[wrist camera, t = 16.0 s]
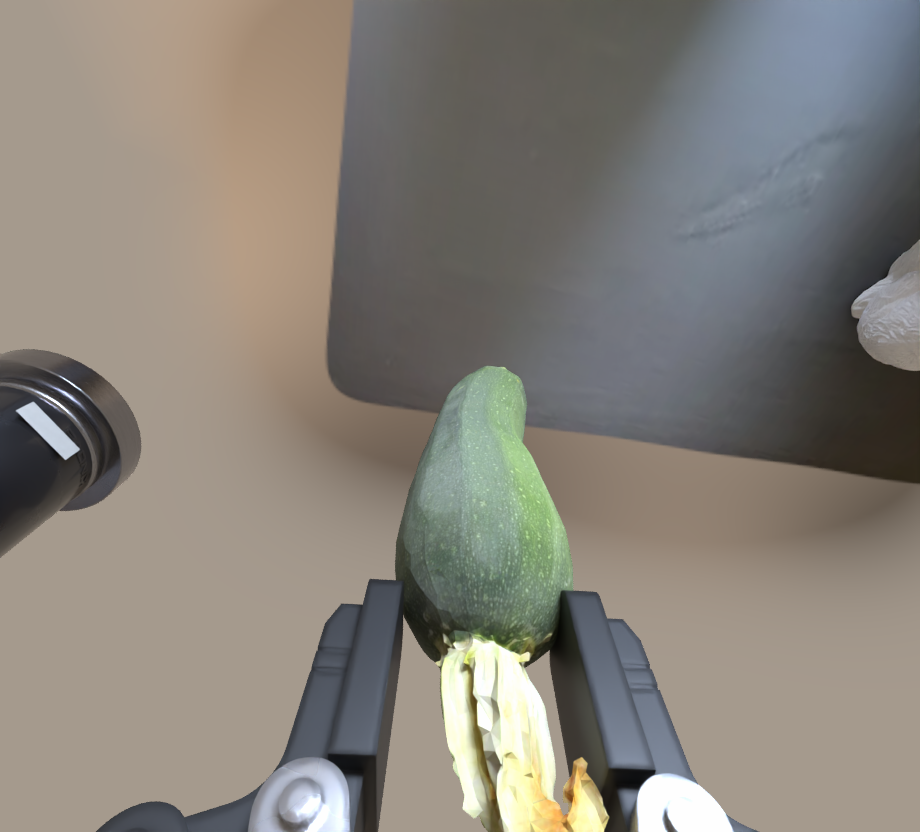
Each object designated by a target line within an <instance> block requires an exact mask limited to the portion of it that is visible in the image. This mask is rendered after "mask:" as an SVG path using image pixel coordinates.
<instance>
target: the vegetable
mask: <svg viewBox="0 0 920 832" xmlns="http://www.w3.org/2000/svg"><path fill="white" fill-rule="evenodd" d="M526 409H527V400H526V396H525V392H524V388H523V385H522V382H521V379H520V378H519V377H518V376H516V375H514V374H513V373H511V372H510V371H508V370H507V369H506V368H505V367H494V366H485V367H482V368H480V369H479V370H477V371H475V372H473V373H471V374H470V375H468V376H466V377H465V378H464V379H462V380H461V381H460V382H459V383H458V384H457V385H455V387H454V388H453V389H452V390H451V391H450V393H449V395H448V396H447V398H446V400H445V402H444V405H443V407H442V409H441V411H440V413H439V415H438V417H437V419H436V422H435V425H434V428H433V431H432V433H431V435H430V437H429V440H428V443H427V445H426V447H425V449H424V451H423V453H422V456H421V459H420V461H419V464H418V468H417V471H416V474H415V477H414V479H413V482H412V484H411V487H410V489H409V493H408V497H407V501H406V505H405V509H404V513H403V517H402V521H401V524H400V528H399V533H398V537H397V542H396V560H395V572H396V580H397V581H404V603H403V615H404V618H405V619H406V621H407V623H408V625H409V627H410V629H411V630H412V632H413V634H414V636H415V638H416V640H417V641H418V643H419V645H420V646H421V648H422V649H423V651H424V652H425V653H426V654H427V655H428V657H429V658H430V659H431V660H433V661H434V662H435V663H436V664H437V665H438V667H439V668H440V671H441V679H440V692H441V706H442V714H443V719H444V724H445V730H446V736H447V741H448V746H449V750H450V752H451V755H452V758H453V761H454V763H453V769H454V771H455V773H456V774H457V776H458V778H459V780H460V782H461V785H462V789H463V792H464V795H465V798H464V804H463V810H464V811H466V812H467V813H468V814H469V815H470V816H472V817H473V818H474V819H475V818H476V817H478V816H479V817H480V819H481V822H482V824H483V826H484V828H486V830H487V831H488V832H604V829H605V827H606V824H607V822H608V819H609V816H608V814H607V812H606V810H605V808H604V806H603V799H602V797H601V794H600V792H599V790H598V788H597V786H596V785H595V783H594V782H593V781H592V779H591V778H590V777H589V776H588V774H587V773H586V769H587V764H588V763H587V762H586V761H585V760H584V759H583V758H582V757H581V758H579V759H577V760H575V761H574V763H573V769H572V775H571V777H570V778H569V780H568V781H567V783H566V784H565V786H564V787H563V802H564V803H568V805H569V813H568V814H566V815H564V816H563V814H562V812H561V809H560V806H559V803H556V801H555V800H554V798H553V791H554V787H555V782H556V772H555V759H554V754H553V748H552V743H551V738H550V733H549V729H548V725H547V717H546V710H545V707H544V704H543V702H542V700H541V698H540V696H539V694H538V692H537V691H536V689H535V687H534V685H533V684H532V683H531V682H530V680H529V678H528V675H527V673H526V671H525V667H527V666H528V665H530V664H531V663H533V662H535V661H536V660H538V659H539V658H540V657H541V656H542V655H544V654H545V653H546V652H548V651H549V650H550V649H551V648H552V646H553V645H554V643H555V641H556V638H557V633H558V627H559V621H560V601H561V591H562V590H570V591H573V568H572V560H571V554H570V549H569V544H568V540H567V535H566V530H565V528H564V526H563V523H562V521H561V519H560V516H559V514H558V512H557V510H556V507H555V505H554V503H553V501H552V499H551V497H550V494H549V492H548V490H547V488H546V486H545V484H544V482H543V480H542V478H541V476H540V473H539V471H538V468H537V466H536V464H535V462H534V460H533V458H532V456H531V454H530V453H529V451H528V450H527V449H526V447H525V446H524V444H523V437H524V429H525V415H526Z"/></svg>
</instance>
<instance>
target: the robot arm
mask: <svg viewBox="0 0 920 832" xmlns="http://www.w3.org/2000/svg"><path fill="white" fill-rule="evenodd" d="M102 465H103V453H102V447H101V444H100V441H99V438H98V436H97V434H96V432H95V430H94V428H93V427H92V425H91V424H90V422H89V421H88V420H87V419H86V417H85V416H84V415H83V414H82V413H81V412H80V411H79V410H78V409H77V408H76V407H75V406H74V405H73V404H71V403H70V402H69V401H68V400H66V399H65V398H63V397H62V396H60V395H59V394H57V393H55V392H53V391H52V390H50V389H48V388H45V387H43V386H41V385H38V384H35V383H32V382H28V381H23V380H17V379H0V558H1V557H2V556H3V555H4V554H6V553H7V552H8V551H9V550H11V549H12V548H13V547H14V546H16V545H17V544H18V543H19V542H20V541H22V540H23V539H24V538H25V537H27V536H28V535H29V534H30V533H32V532H33V531H34V530H35V529H36V528H38V527H39V526H40V525H41V524H43V523H44V522H45V521H46V520H48V519H49V518H50V517H52V516H53V515H54V514H55V513H57V512H58V511H59V510H60V509H61V508H63V507H64V506H65V505H66V504H68V503H69V502H70V501H71V500H73V499H75V498H77V497H78V496H80V495H81V494H82V493H84V492H85V491H86V490H87V489H88V488H90V487H91V486H92V485H93V484H94V483H95V482H96V480H97V479H98V477H99V475H100V473H101V470H102ZM403 603H404V581H397V580H379V579H370V580H369V582H368V586H367V590H366V594H365V598H364V602H363V605H357V604H341V605H340V606H339V607H338V609H337V610H336V611H335V612H334V613H333V615H332V616H331V617H330V618H329V619H328V621H327V622H326V623H325V626H324V629H323V632H322V636H321V639H320V642H319V645H318V651H317V652H316V654H315V658H314V661H313V664H312V670H311V672H310V674H309V677H308V680H307V683H306V687H305V690H304V693H303V696H302V699H301V702H300V706H299V709H298V712H297V715H296V718H295V721H294V725H293V728H292V731H291V734H290V738H289V741H288V744H287V747H286V750H285V752H284V755H283V757H282V759H281V761H280V763H279V765H278V766H277V768H276V769H275V770H274V772H273V773H272V774H271V775H270V777H269V778H268V779H267V780H266V781H265V782H264V783H263V784H261V785H260V786H259V787H258V788H257V789H256V790H254V791H253V792H251V793H250V794H249V795H247V796H245V797H243V798H241V799H239V800H237V801H234V802H232V803H229V804H226V805H222V806H219V807H216V808H213V809H210V810H207V811H204V812H200V813H197V814H194V815H191V816H187V817H184V816H183V815H182V813H181V812H180V811H179V810H178V809H177V808H176V807H174V806H173V805H171V804H168V803H164V802H146V803H141V804H139V805H136V806H133V807H130V808H128V809H126V810H124V811H122V812H121V813H119V814H118V815H116V816H114V817H113V818H111V819H110V820H109V821H108V822H106V823H105V824H104V825H103V826H102V827H100V828H99V829H98V830H97V831H96V832H378V827H379V819H380V812H381V804H382V797H383V789H384V782H385V774H386V766H387V759H388V751H389V743H390V736H391V728H392V721H393V713H394V706H395V698H396V691H397V683H398V675H399V668H400V660H401V650H402V636H403ZM550 667H551V675H552V680H553V686H554V691H555V697H556V703H557V708H558V714H559V720H560V725H561V731H562V736H563V741H564V747H565V753H566V758H567V765H568V770H569V776H570V777H571V775H572V769H573V763H574V761H575V760H577V759H579V758H581V757H582V758H583V759H584V760H585V761H586V762H587V763H588V764H587V769H586V773H587V774H588V776H589V777H590V778H591V779H592V781H593V782H594V783H595V785H596V786H597V788H598V790H599V792H600V794H601V797H602V799H603V806H604V808H605V810H606V812H607V814H608V816H609V819H608V822H607V824H606V827H605V829H604V832H758V831H756V830H753V829H751V828H749V827H746V826H744V825H742V824H740V823H739V822H737V821H735V820H734V819H732V818H730V817H729V816H728V815H726V814H725V813H724V812H723V810H722V809H721V807H720V806H719V805H718V803H717V802H716V801H715V800H714V799H713V797H711V795H710V794H709V793H708V792H706V791H705V790H704V789H703V788H702V787H700V786H699V785H698V783H697V782H696V780H695V778H694V777H693V775H692V772H691V770H690V768H689V765H688V762H687V760H686V757H685V755H684V752H683V749H682V747H681V744H680V742H679V739H678V736H677V734H676V731H675V729H674V726H673V724H672V721H671V718H670V716H669V713H668V711H667V708H666V705H665V703H664V700H663V698H662V695H661V693H660V690H658V688H657V682H656V680H655V677H654V674H653V672H652V670H651V669H650V664H649V661H648V659H647V656H646V654H645V651H644V648H643V646H642V643H641V640H640V639H639V638H638V637H637V636H636V635H635V633H634V632H633V631H632V630H631V629H630V627H629V626H628V625H627V624H626V623H625V622H624V621H623V620H622V619H607V617H606V615H605V611H604V608H603V605H602V602H601V599H600V596H599V595H598V593H597V592H587V591H570V590H562V591H561V601H560V621H559V627H558V633H557V638H556V641H555V643H554V645H553V646H552V648H551V649H550Z"/></svg>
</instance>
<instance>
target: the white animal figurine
mask: <svg viewBox="0 0 920 832" xmlns="http://www.w3.org/2000/svg"><path fill="white" fill-rule="evenodd" d="M851 312H852V316H853V317H854V318H860V319H859V322H858V324H857V332H858V334H859V335H858V339H859V342H860V343H861V344H862V346H863V348H865V350H866V352H868V354H869V355H870V356H872V357H873V358H874V359H876V360H877V361H880V362H882V363H884V364H890V365H893V366H894V367H897V368H902V369H905V370H910V371H918V370H919V371H920V240H919V241H918V242H917V243H916V244H914V245H913V246H912V247H911V248H910V249H909V250H908V251H906V252H905V253H903V254H902V255H901V256H900V257H899V258H898V259H897V260H896V261H895V262H894V263H893V264H892V266H891V267H890V270H889V272H888V276H887V277H886V278H885V279H883V280H880V281H878V282H877V283H876V284H875V285H873V286H872V287H870V288H869V289H867V290H865V291H863V293H862V294H861V295H860V296H858V298H857V299H855V300H854V303H853V304H852V306H851Z"/></svg>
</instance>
